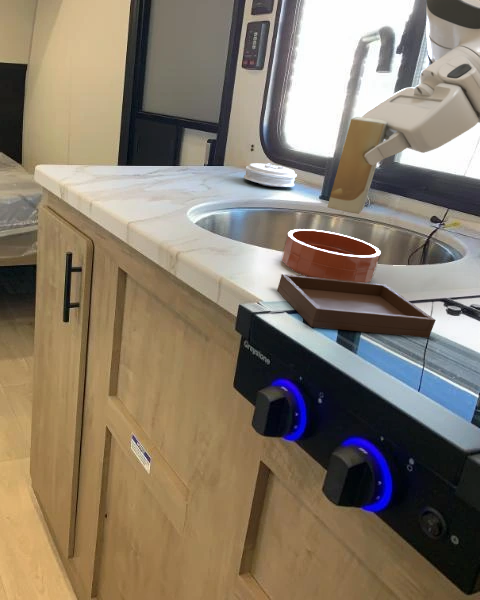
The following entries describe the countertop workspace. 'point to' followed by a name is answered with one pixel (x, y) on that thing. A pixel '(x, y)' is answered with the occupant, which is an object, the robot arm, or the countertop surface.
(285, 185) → the lid
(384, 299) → the tray
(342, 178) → the cosmetic box
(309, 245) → the bowl
